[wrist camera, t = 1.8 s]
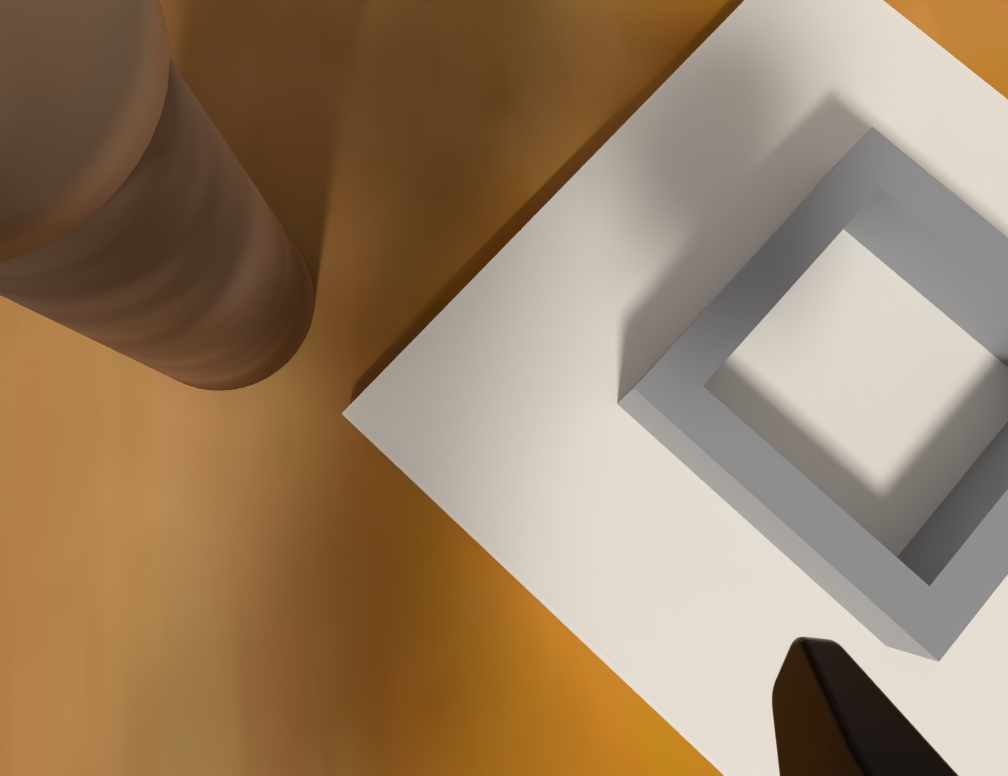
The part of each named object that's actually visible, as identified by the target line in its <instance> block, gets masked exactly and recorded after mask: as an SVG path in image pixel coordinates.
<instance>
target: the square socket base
mask: <svg viewBox="0 0 1008 776" xmlns="http://www.w3.org/2000/svg"><path fill="white" fill-rule="evenodd" d="M342 415H343V416H344V417H345V418H346V419H348V420H349V421H350V422H351V423H352V424H353V425H354V426H355V427H356V428H357V429H358V430H359V431H360V432H361V433H362V434H363V435H364V436H366V437H367V438H368V439H369V440H370V441H371V442H372V443H373V444H374V445H375V446H376V447H377V448H378V449H379V450H380V451H381V452H382V453H383V454H385V455H386V456H387V457H388V458H389V459H390V460H391V461H392V462H393V463H394V464H395V465H396V466H397V467H398V468H399V469H400V470H401V471H403V472H404V473H405V474H406V475H407V476H408V477H409V478H410V479H411V480H412V481H413V482H414V483H415V484H416V485H417V486H418V487H419V488H420V489H422V490H423V491H424V492H425V493H426V494H427V495H428V496H429V497H430V498H431V499H432V500H433V501H434V502H435V503H436V504H437V505H438V506H440V507H441V508H442V509H443V510H444V511H445V512H446V513H447V514H448V515H449V516H450V517H451V518H452V519H453V520H454V521H455V522H456V523H458V524H459V525H460V526H461V527H462V528H463V529H464V530H465V531H466V532H467V533H468V534H469V535H470V536H471V537H472V538H473V539H474V540H475V541H477V542H478V543H479V544H480V545H481V546H482V547H483V548H484V549H485V550H486V551H487V552H488V553H489V554H490V555H491V556H492V557H493V558H495V559H496V560H497V561H498V562H499V563H500V564H501V565H502V566H503V567H504V568H505V569H506V570H507V571H508V572H509V573H510V574H511V575H513V576H514V577H515V578H516V579H517V580H518V581H519V582H520V583H521V584H522V585H523V586H524V587H525V588H526V589H527V590H528V591H529V592H530V593H532V594H533V595H534V596H535V597H536V598H537V599H538V600H539V601H540V602H541V603H542V604H543V605H544V606H545V607H546V608H547V609H548V610H550V611H551V612H552V613H553V614H554V615H555V616H556V617H557V618H558V619H559V620H560V621H561V622H562V623H563V624H564V625H565V626H566V627H568V628H569V629H570V630H571V631H572V632H573V633H574V634H575V635H576V636H577V637H578V638H579V639H580V640H581V641H582V642H583V643H584V644H585V645H587V646H588V647H589V648H590V649H591V650H592V651H593V652H594V653H595V654H596V655H597V656H598V657H599V658H600V659H601V660H602V661H603V662H605V663H606V664H607V665H608V666H609V667H610V668H611V669H612V670H613V671H614V672H615V673H616V674H617V675H618V676H619V677H620V678H621V679H623V680H624V681H625V682H626V683H627V684H628V685H629V686H630V687H631V688H632V689H633V690H634V691H635V692H636V693H637V694H638V695H639V696H640V697H642V698H643V699H644V700H645V701H646V702H647V703H648V704H649V705H650V706H651V707H652V708H653V709H654V710H655V711H656V712H657V713H658V714H660V715H661V716H662V717H663V718H664V719H665V720H666V721H667V722H668V723H669V724H670V725H671V726H672V727H673V728H674V729H675V730H676V731H678V732H679V733H680V734H681V735H682V736H683V737H684V738H685V739H686V740H687V741H688V742H689V743H690V744H691V745H692V746H693V747H694V748H695V749H697V750H698V751H699V752H700V753H701V754H702V755H703V756H704V757H705V758H706V759H707V760H708V761H709V762H710V763H711V764H712V765H713V766H715V767H716V768H717V769H718V770H719V771H720V772H721V773H722V774H723V775H724V776H780V773H779V764H778V755H777V747H776V738H775V729H774V720H773V711H772V691H773V686H774V683H775V680H776V678H777V676H778V673H779V671H780V669H781V666H782V664H783V662H784V659H785V657H786V655H787V652H788V650H789V648H790V645H791V644H792V642H793V641H794V640H795V639H796V638H798V637H812V638H821V639H829V640H833V641H835V642H837V643H838V644H839V645H841V646H842V647H843V648H844V649H845V651H846V652H847V653H848V654H849V655H850V656H851V657H852V658H853V659H854V661H855V662H856V663H857V664H858V665H859V666H860V667H861V668H862V669H863V670H864V672H865V673H866V674H867V675H868V676H869V677H870V678H871V679H872V680H873V682H874V683H875V684H876V685H877V686H878V687H879V688H880V689H881V690H882V691H883V693H884V694H885V695H886V696H887V697H888V698H889V699H890V700H891V701H892V703H893V704H894V705H895V706H896V707H897V708H898V709H899V710H900V711H901V712H902V714H903V715H904V716H905V717H906V718H907V719H908V720H909V721H910V722H911V724H912V725H913V726H914V727H915V728H916V729H917V730H918V731H919V732H920V733H921V735H922V736H923V737H924V738H925V739H926V740H927V741H928V742H929V743H930V745H931V746H932V747H933V748H934V749H935V750H936V751H937V752H938V753H939V754H940V756H941V757H942V758H943V759H944V760H945V761H946V762H947V763H948V764H949V765H950V767H951V768H952V769H953V770H954V771H955V772H956V773H957V774H958V775H959V776H1008V100H1007V99H1006V98H1005V97H1004V96H1002V95H1001V94H1000V93H999V92H997V91H996V90H995V89H994V88H992V87H991V86H990V85H989V84H987V83H986V82H985V81H984V80H982V79H981V78H980V77H979V76H977V75H976V74H975V73H974V72H972V71H971V70H970V69H969V68H967V67H966V66H965V65H964V64H962V63H961V62H960V61H959V60H957V59H956V58H955V57H954V56H952V55H951V54H950V53H949V52H947V51H946V50H945V49H944V48H942V47H941V46H940V45H939V44H937V43H936V42H935V41H934V40H932V39H931V38H930V37H929V36H927V35H926V34H925V33H923V32H922V31H921V30H920V29H918V28H917V27H916V26H915V25H913V24H912V23H911V22H910V21H908V20H907V19H906V18H905V17H903V16H902V15H901V14H900V13H898V12H897V11H896V10H895V9H893V8H892V7H891V6H890V5H888V4H887V3H886V2H885V1H883V0H744V1H743V2H742V3H741V4H740V5H739V6H738V7H737V8H736V9H735V10H734V11H733V12H732V13H731V14H730V16H729V17H728V18H727V19H726V20H725V21H724V22H723V23H722V24H721V25H720V26H719V27H718V28H717V29H716V30H715V31H714V32H713V33H712V34H711V35H710V36H709V37H708V38H707V39H706V40H705V41H704V42H703V43H702V44H701V45H700V46H699V47H698V48H697V49H696V50H695V51H694V52H693V53H692V54H691V56H690V57H689V58H688V59H687V60H686V61H685V62H684V63H683V64H682V65H681V66H680V67H679V68H678V69H677V70H676V71H675V72H674V73H673V74H672V75H671V76H670V77H669V78H668V79H667V80H666V81H665V82H664V83H663V84H662V85H661V86H660V87H659V88H658V89H657V90H656V91H655V92H654V93H653V95H652V96H651V97H650V98H649V99H648V100H647V101H646V102H645V103H644V104H643V105H642V106H641V107H640V108H639V109H638V110H637V111H636V112H635V113H634V114H633V115H632V116H631V117H630V118H629V119H628V120H627V121H626V122H625V123H624V124H623V125H622V126H621V127H620V128H619V129H618V130H617V131H616V132H615V133H614V135H613V136H612V137H611V138H610V139H609V140H608V141H607V142H606V143H605V144H604V145H603V146H602V147H601V148H600V149H599V150H598V151H597V152H596V153H595V154H594V155H593V156H592V157H591V158H590V159H589V160H588V161H587V162H586V163H585V164H584V165H583V166H582V167H581V168H580V169H579V170H578V171H577V172H576V173H575V175H574V176H573V177H572V178H571V179H570V180H569V181H568V182H567V183H566V184H565V185H564V186H563V187H562V188H561V189H560V190H559V191H558V192H557V193H556V194H555V195H554V196H553V197H552V198H551V199H550V200H549V201H548V202H547V203H546V204H545V205H544V206H543V207H542V208H541V209H540V210H539V211H538V212H537V214H536V215H535V216H534V217H533V218H532V219H531V220H530V221H529V222H528V223H527V224H526V225H525V226H524V227H523V228H522V229H521V230H520V231H519V232H518V233H517V234H516V235H515V236H514V237H513V238H512V239H511V240H510V241H509V242H508V243H507V244H506V245H505V246H504V247H503V248H502V249H501V250H500V251H499V252H498V254H497V255H496V256H495V257H494V258H493V259H492V260H491V261H490V262H489V263H488V264H487V265H486V266H485V267H484V268H483V269H482V270H481V271H480V272H479V273H478V274H477V275H476V276H475V277H474V278H473V279H472V280H471V281H470V282H469V283H468V284H467V285H466V286H465V287H464V288H463V289H462V290H461V291H460V293H459V294H458V295H457V296H456V297H455V298H454V299H453V300H452V301H451V302H450V303H449V304H448V305H447V306H446V307H445V308H444V309H443V310H442V311H441V312H440V313H439V314H438V315H437V316H436V317H435V318H434V319H433V320H432V321H431V322H430V323H429V324H428V325H427V326H426V327H425V328H424V329H423V330H422V331H421V333H420V334H419V335H418V336H417V337H416V338H415V339H414V340H413V341H412V342H411V343H410V344H409V345H408V346H407V347H406V348H405V349H404V350H403V351H402V352H401V353H400V354H399V355H398V356H397V357H396V358H395V359H394V360H393V361H392V362H391V363H390V364H389V365H388V366H387V367H386V368H385V369H384V370H383V371H382V373H381V374H380V375H379V376H378V377H377V378H376V379H375V380H374V381H373V382H372V383H371V384H370V385H369V386H368V387H367V388H366V389H365V390H364V391H363V392H362V393H361V394H360V395H359V396H358V397H357V398H356V399H355V400H354V401H353V402H352V403H351V404H350V405H349V406H348V407H347V408H346V409H345V410H344V412H343V413H342Z"/></svg>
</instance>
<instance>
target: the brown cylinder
mask: <svg viewBox="0 0 1008 776" xmlns="http://www.w3.org/2000/svg"><path fill="white" fill-rule="evenodd" d="M0 295H1V296H3V297H5V298H8V299H10V300H12V301H14V302H16V303H18V304H20V305H22V306H24V307H26V308H28V309H30V310H32V311H34V312H37V313H39V314H41V315H43V316H45V317H47V318H49V319H51V320H53V321H55V322H57V323H59V324H61V325H63V326H66V327H68V328H70V329H72V330H74V331H76V332H78V333H80V334H82V335H84V336H86V337H88V338H90V339H92V340H95V341H97V342H99V343H101V344H103V345H105V346H107V347H109V348H111V349H113V350H115V351H117V352H119V353H121V354H124V355H126V356H128V357H130V358H132V359H134V360H136V361H138V362H140V363H142V364H144V365H146V366H148V367H150V368H153V369H155V370H157V371H159V372H161V373H163V374H165V375H167V376H169V377H171V378H173V379H175V380H177V381H180V382H182V383H184V384H186V385H189V386H193V387H196V388H200V389H206V390H232V389H238V388H242V387H246V386H249V385H252V384H255V383H257V382H259V381H261V380H263V379H265V378H267V377H269V376H271V375H272V374H273V373H275V372H276V371H278V370H279V369H280V368H281V367H283V366H284V365H285V364H286V363H287V362H288V361H289V360H290V359H291V358H292V357H293V355H294V354H295V353H296V352H297V350H298V349H299V347H300V346H301V344H302V343H303V341H304V339H305V337H306V335H307V333H308V330H309V327H310V324H311V321H312V317H313V312H314V300H315V298H314V286H313V281H312V277H311V274H310V271H309V268H308V266H307V264H306V262H305V260H304V258H303V256H302V255H301V253H300V252H299V250H298V249H297V247H296V246H295V244H294V243H293V241H292V240H291V238H290V237H289V235H288V234H287V232H286V231H285V229H284V228H283V226H282V225H281V223H280V222H279V220H278V219H277V217H276V216H275V214H274V213H273V211H272V210H271V208H270V207H269V205H268V204H267V202H266V201H265V199H264V198H263V196H262V195H261V194H260V192H259V191H258V189H257V188H256V186H255V185H254V183H253V182H252V180H251V179H250V177H249V176H248V174H247V173H246V171H245V170H244V168H243V167H242V165H241V164H240V162H239V161H238V159H237V158H236V156H235V155H234V153H233V152H232V150H231V149H230V147H229V146H228V144H227V143H226V141H225V140H224V138H223V137H222V135H221V134H220V132H219V131H218V129H217V128H216V126H215V125H214V123H213V122H212V120H211V119H210V117H209V116H208V114H207V113H206V111H205V110H204V108H203V107H202V105H201V104H200V102H199V101H198V99H197V98H196V96H195V95H194V93H193V92H192V90H191V89H190V87H189V86H188V84H187V83H186V81H185V80H184V78H183V77H182V75H181V74H180V72H179V71H178V70H177V68H176V67H175V65H174V64H173V62H172V61H171V59H170V56H169V38H168V33H167V28H166V22H165V17H164V14H163V11H162V8H161V5H160V2H159V0H0Z"/></svg>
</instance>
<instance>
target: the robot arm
mask: <svg viewBox="0 0 1008 776" xmlns="http://www.w3.org/2000/svg"><path fill="white" fill-rule="evenodd" d="M772 711H773V720H774V729H775V738H776V747H777V755H778V764H779V773H780V776H959V775H958V774H957V773H956V772H955V771H954V770H953V769H952V768H951V767H950V765H949V764H948V763H947V762H946V761H945V760H944V759H943V758H942V757H941V756H940V754H939V753H938V752H937V751H936V750H935V749H934V748H933V747H932V746H931V745H930V743H929V742H928V741H927V740H926V739H925V738H924V737H923V736H922V735H921V733H920V732H919V731H918V730H917V729H916V728H915V727H914V726H913V725H912V724H911V722H910V721H909V720H908V719H907V718H906V717H905V716H904V715H903V714H902V712H901V711H900V710H899V709H898V708H897V707H896V706H895V705H894V704H893V703H892V701H891V700H890V699H889V698H888V697H887V696H886V695H885V694H884V693H883V691H882V690H881V689H880V688H879V687H878V686H877V685H876V684H875V683H874V682H873V680H872V679H871V678H870V677H869V676H868V675H867V674H866V673H865V672H864V670H863V669H862V668H861V667H860V666H859V665H858V664H857V663H856V662H855V661H854V659H853V658H852V657H851V656H850V655H849V654H848V653H847V652H846V651H845V649H844V648H843V647H842V646H841V645H839V644H838V643H837V642H835V641H833V640H829V639H821V638H812V637H798V638H796V639H795V640H794V641H793V642H792V644H791V645H790V648H789V650H788V652H787V655H786V657H785V659H784V662H783V664H782V666H781V669H780V671H779V673H778V676H777V678H776V680H775V683H774V686H773V691H772Z"/></svg>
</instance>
